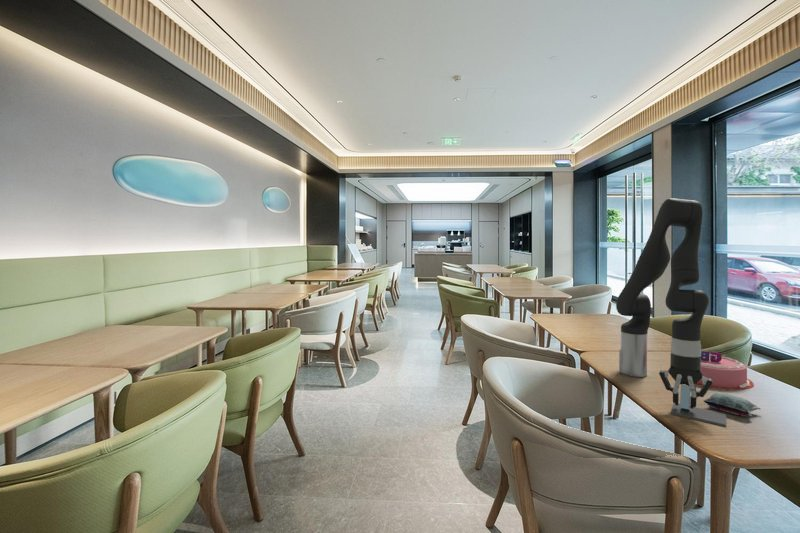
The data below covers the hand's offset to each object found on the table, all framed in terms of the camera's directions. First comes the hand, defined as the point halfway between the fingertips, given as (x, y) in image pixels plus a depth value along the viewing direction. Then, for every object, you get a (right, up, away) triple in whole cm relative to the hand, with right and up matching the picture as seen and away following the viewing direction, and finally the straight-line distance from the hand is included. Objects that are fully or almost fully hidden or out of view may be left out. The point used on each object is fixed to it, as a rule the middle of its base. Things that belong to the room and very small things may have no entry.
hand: (684, 405), depth 115 cm
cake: (+33, 0, +29) cm, 44 cm away
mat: (+3, -2, -2) cm, 4 cm away
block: (+1, +2, +1) cm, 3 cm away
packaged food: (+15, -2, +1) cm, 15 cm away
